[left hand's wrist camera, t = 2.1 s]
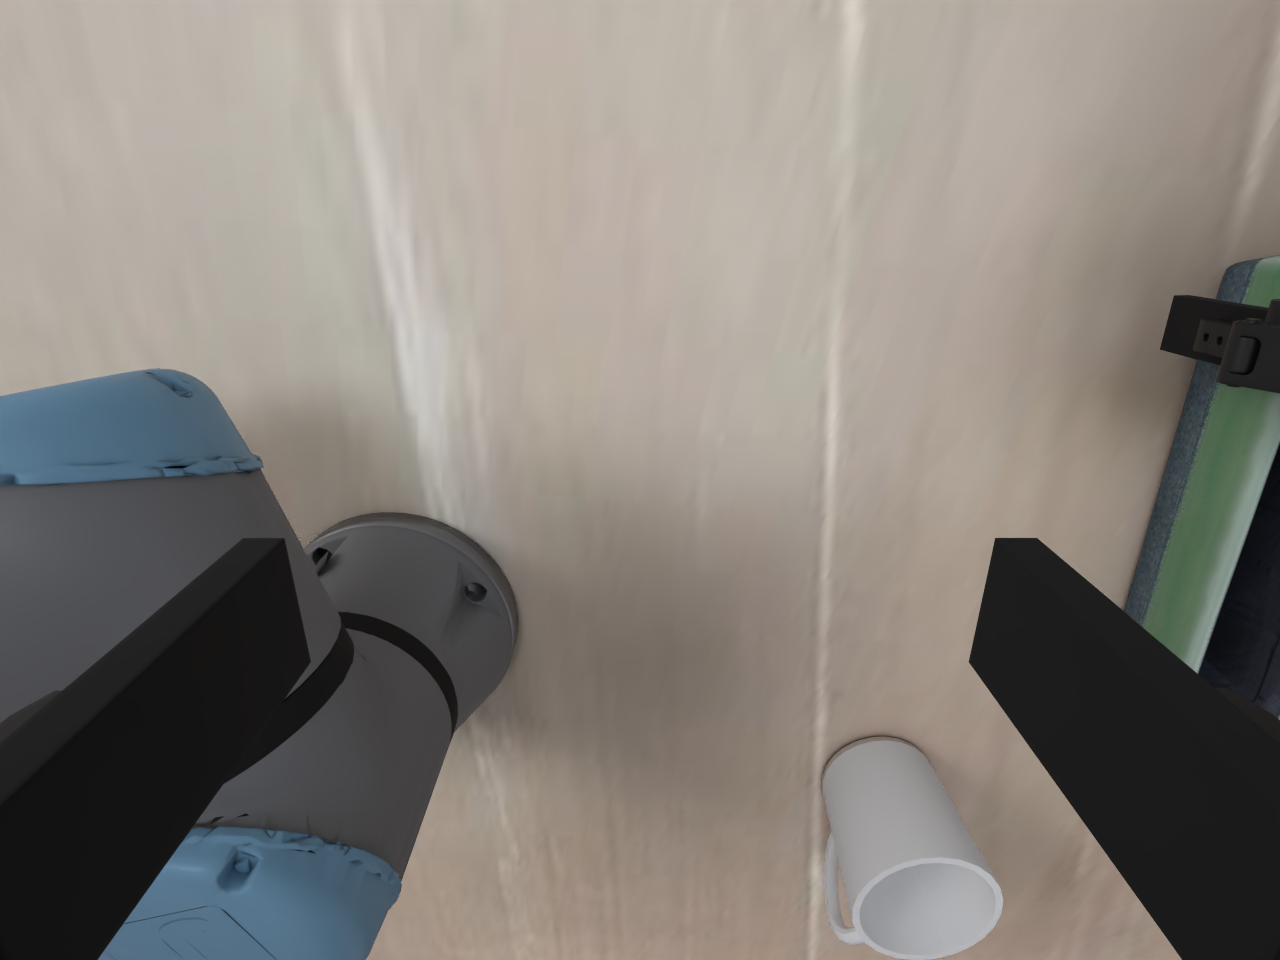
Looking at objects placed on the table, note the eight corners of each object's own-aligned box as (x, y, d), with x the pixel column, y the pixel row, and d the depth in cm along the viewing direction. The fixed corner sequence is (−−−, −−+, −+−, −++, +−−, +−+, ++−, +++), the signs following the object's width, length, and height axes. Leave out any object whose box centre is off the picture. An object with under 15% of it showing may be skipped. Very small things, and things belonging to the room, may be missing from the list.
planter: (1197, 664, 47) (1288, 741, 40) (1090, 664, 47) (1163, 741, 40) (1348, 236, 37) (1504, 244, 30) (1211, 238, 37) (1335, 246, 30)
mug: (889, 709, 49) (947, 833, 39) (960, 780, 51) (1032, 914, 41) (768, 789, 52) (794, 923, 42) (841, 852, 54) (881, 993, 44)
